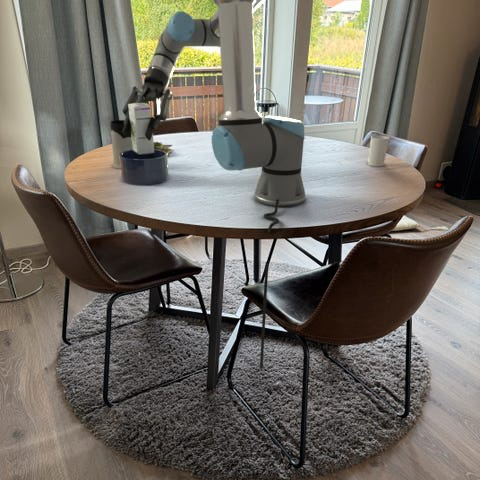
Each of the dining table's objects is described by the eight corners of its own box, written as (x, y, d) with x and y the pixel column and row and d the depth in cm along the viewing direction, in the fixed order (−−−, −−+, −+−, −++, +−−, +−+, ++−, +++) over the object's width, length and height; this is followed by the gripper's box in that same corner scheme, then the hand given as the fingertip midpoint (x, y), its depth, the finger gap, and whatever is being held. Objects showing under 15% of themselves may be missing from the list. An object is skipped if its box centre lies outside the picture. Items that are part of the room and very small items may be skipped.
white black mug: (108, 165, 179) (103, 121, 172) (140, 159, 188) (137, 117, 180) (122, 170, 174) (117, 125, 166) (154, 163, 183) (151, 120, 175)
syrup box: (155, 153, 161) (151, 105, 153) (137, 154, 158) (133, 106, 151) (148, 149, 165) (145, 102, 158) (131, 150, 163) (127, 103, 155)
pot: (166, 185, 160) (165, 160, 156) (118, 184, 159) (115, 159, 155) (170, 172, 173) (168, 148, 169) (125, 172, 172) (123, 148, 168)
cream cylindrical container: (386, 166, 186) (391, 139, 181) (369, 166, 186) (373, 138, 181) (382, 162, 192) (386, 135, 187) (365, 162, 192) (369, 135, 187)
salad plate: (162, 145, 208) (162, 134, 206) (184, 154, 196) (184, 142, 193) (120, 151, 198) (118, 139, 196) (139, 160, 186) (138, 148, 184)
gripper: (191, 85, 161) (169, 146, 156) (136, 81, 167) (114, 140, 163) (182, 68, 154) (159, 132, 149) (126, 64, 160) (102, 125, 156)
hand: (136, 136), depth 156 cm, fingers closed on syrup box, 8 cm apart
